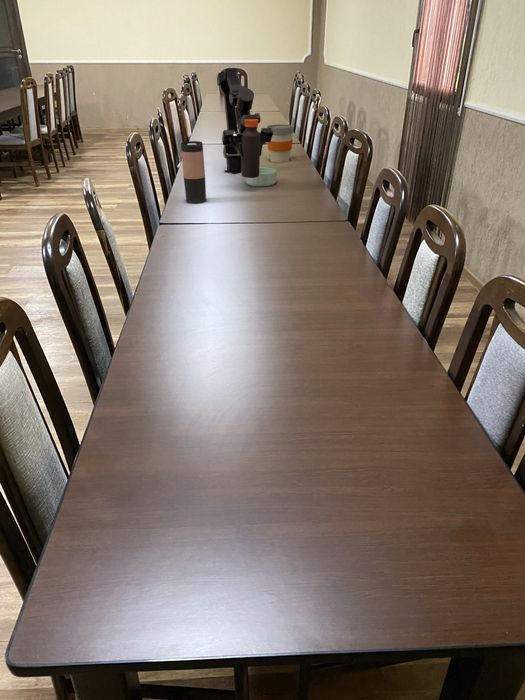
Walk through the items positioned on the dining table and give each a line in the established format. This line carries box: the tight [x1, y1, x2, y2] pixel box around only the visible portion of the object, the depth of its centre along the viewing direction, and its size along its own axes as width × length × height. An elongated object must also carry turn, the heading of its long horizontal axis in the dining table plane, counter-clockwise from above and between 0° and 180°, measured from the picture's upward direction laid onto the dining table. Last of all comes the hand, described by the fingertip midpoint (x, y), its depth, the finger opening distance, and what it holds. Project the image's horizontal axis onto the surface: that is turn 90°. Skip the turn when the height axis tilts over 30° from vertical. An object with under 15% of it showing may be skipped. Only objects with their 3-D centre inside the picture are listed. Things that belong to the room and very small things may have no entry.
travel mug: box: [180, 140, 207, 204], centre depth 191 cm, size 8×8×20 cm
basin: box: [245, 166, 277, 188], centre depth 215 cm, size 12×12×5 cm
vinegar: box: [240, 119, 261, 179], centre depth 199 cm, size 7×7×20 cm
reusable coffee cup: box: [266, 123, 294, 163], centre depth 251 cm, size 13×13×15 cm
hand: (251, 156), depth 200 cm, fingers closed on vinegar, 7 cm apart
